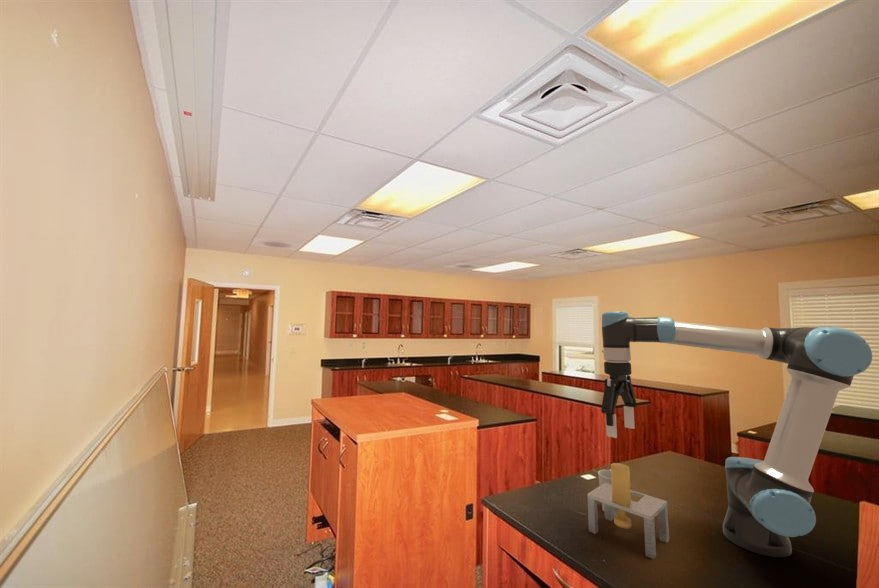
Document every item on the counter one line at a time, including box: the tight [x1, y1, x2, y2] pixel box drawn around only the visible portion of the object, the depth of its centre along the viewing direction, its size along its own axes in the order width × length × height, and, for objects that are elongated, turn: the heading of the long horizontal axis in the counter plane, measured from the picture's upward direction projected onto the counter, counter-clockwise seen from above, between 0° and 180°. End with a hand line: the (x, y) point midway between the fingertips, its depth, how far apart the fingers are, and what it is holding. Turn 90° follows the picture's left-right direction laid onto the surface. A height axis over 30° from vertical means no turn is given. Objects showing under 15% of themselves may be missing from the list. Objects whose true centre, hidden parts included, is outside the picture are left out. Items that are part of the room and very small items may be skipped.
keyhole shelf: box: [586, 482, 670, 560], centre depth 108 cm, size 18×13×11 cm
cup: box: [597, 469, 618, 516], centre depth 123 cm, size 8×8×12 cm
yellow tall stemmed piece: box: [610, 462, 632, 529], centre depth 107 cm, size 5×5×16 cm
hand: (621, 432), depth 109 cm, fingers open, 13 cm apart
